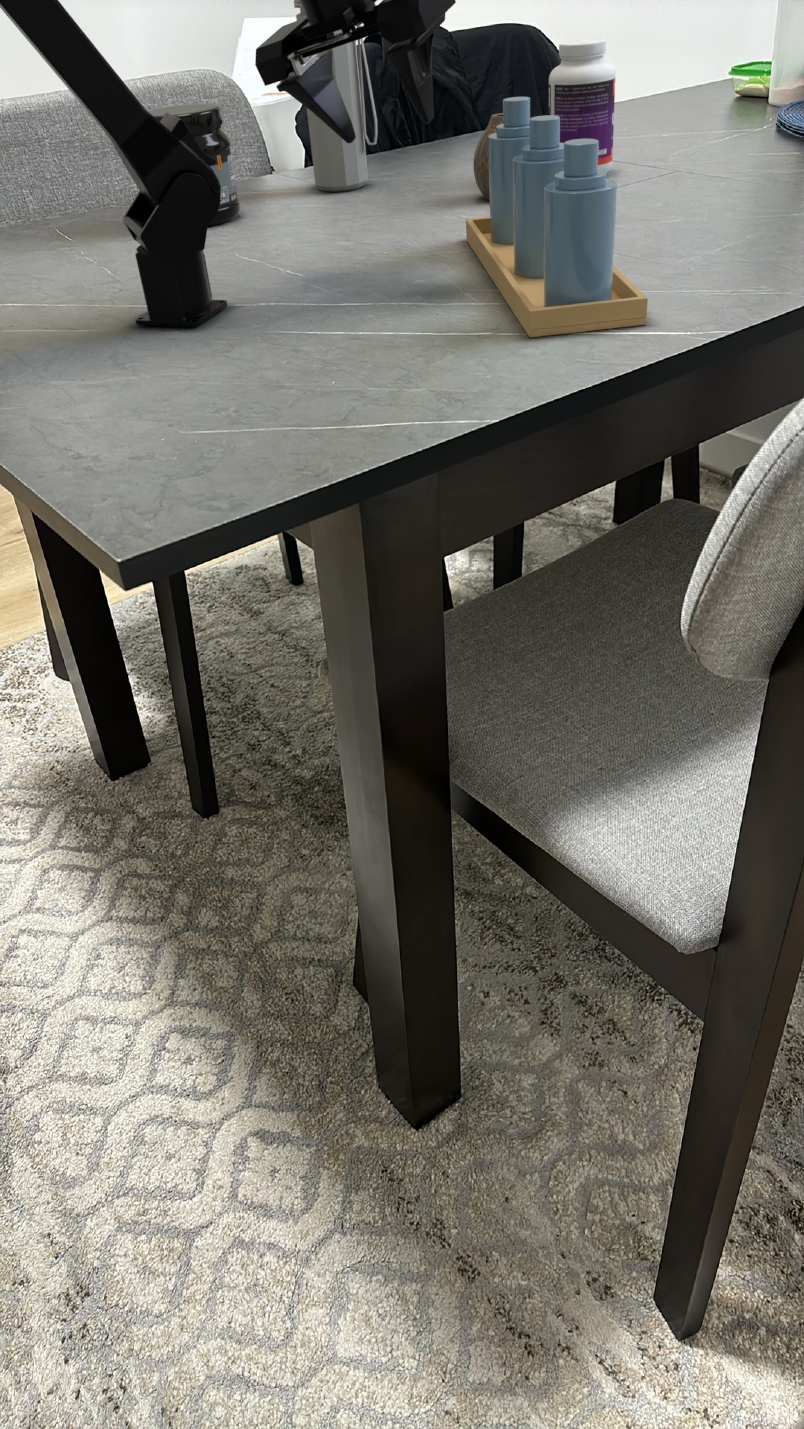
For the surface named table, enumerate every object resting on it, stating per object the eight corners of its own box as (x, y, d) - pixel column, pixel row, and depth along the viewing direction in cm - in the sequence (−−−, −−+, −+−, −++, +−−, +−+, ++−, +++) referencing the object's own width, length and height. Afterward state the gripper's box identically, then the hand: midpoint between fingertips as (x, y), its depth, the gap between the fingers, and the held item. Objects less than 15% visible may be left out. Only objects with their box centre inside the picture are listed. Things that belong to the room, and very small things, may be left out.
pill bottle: (624, 175, 130) (630, 39, 121) (567, 184, 128) (570, 47, 119) (591, 166, 136) (595, 36, 127) (537, 175, 134) (537, 44, 125)
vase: (536, 190, 127) (536, 108, 122) (526, 202, 122) (525, 118, 117) (481, 191, 129) (478, 111, 124) (469, 204, 124) (466, 121, 118)
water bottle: (306, 194, 136) (278, -40, 121) (326, 181, 142) (302, -44, 127) (372, 193, 133) (351, -47, 118) (390, 180, 139) (373, -50, 124)
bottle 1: (550, 241, 105) (551, 99, 97) (495, 247, 105) (492, 105, 97) (538, 228, 109) (539, 92, 102) (486, 234, 109) (483, 98, 101)
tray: (646, 324, 84) (648, 297, 82) (529, 337, 83) (529, 311, 82) (555, 230, 110) (555, 209, 109) (466, 240, 110) (465, 219, 109)
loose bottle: (520, 281, 94) (519, 125, 87) (508, 266, 99) (506, 116, 91) (580, 274, 94) (585, 118, 87) (565, 259, 99) (568, 110, 91)
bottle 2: (619, 316, 84) (627, 143, 76) (551, 323, 84) (553, 151, 76) (601, 297, 89) (607, 132, 81) (537, 304, 88) (537, 139, 81)
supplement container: (142, 223, 129) (118, 114, 122) (214, 206, 134) (196, 100, 127) (182, 235, 123) (160, 120, 115) (257, 216, 127) (241, 105, 120)
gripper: (450, -144, 81) (515, 64, 92) (283, -69, 93) (358, 108, 103) (380, -85, 77) (456, 128, 87) (213, -13, 88) (298, 167, 98)
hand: (389, 131), depth 94 cm, fingers open, 9 cm apart
